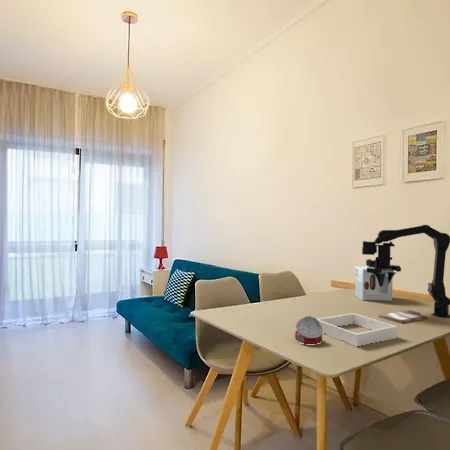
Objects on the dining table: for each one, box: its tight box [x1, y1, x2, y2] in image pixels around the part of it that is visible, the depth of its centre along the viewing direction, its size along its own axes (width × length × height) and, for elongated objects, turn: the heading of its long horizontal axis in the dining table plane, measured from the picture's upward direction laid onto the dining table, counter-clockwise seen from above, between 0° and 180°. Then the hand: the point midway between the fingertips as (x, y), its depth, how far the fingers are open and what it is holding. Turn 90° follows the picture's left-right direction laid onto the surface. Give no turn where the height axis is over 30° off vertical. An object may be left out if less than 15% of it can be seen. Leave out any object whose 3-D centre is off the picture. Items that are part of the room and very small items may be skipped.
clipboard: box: [378, 309, 428, 324], centre depth 165 cm, size 18×12×2 cm, turn 117°
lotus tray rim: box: [316, 312, 399, 347], centre depth 141 cm, size 22×22×4 cm
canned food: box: [294, 315, 323, 344], centre depth 133 cm, size 11×10×10 cm
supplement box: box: [354, 265, 394, 302], centre depth 206 cm, size 17×13×18 cm
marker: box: [379, 272, 388, 293], centre depth 176 cm, size 4×4×10 cm
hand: (383, 286), depth 176 cm, fingers closed on marker, 4 cm apart
